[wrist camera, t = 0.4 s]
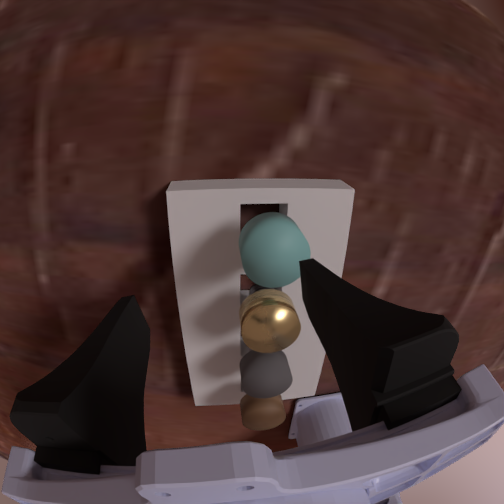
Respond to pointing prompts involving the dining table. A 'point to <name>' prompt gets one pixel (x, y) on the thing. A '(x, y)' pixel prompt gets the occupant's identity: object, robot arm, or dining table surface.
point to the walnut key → (262, 412)
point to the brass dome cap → (268, 320)
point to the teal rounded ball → (272, 249)
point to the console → (230, 267)
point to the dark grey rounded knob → (265, 374)
